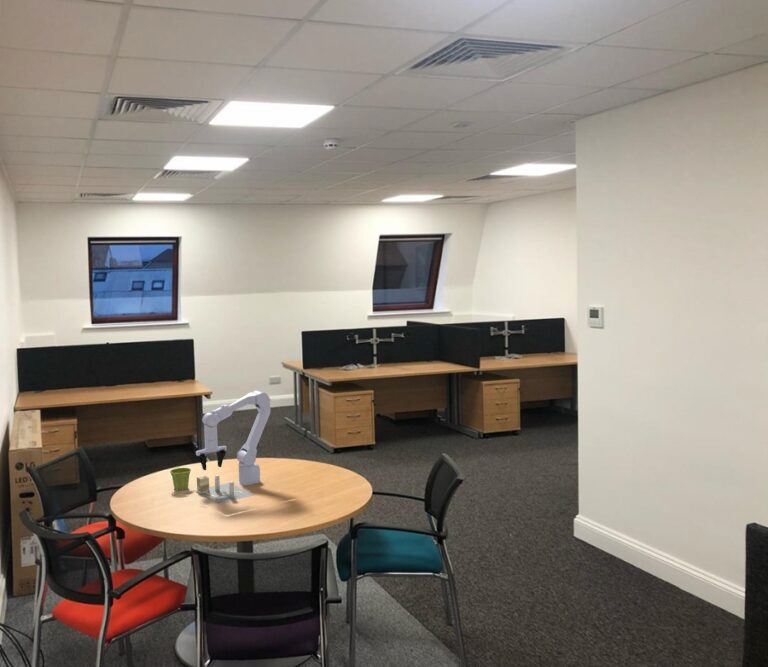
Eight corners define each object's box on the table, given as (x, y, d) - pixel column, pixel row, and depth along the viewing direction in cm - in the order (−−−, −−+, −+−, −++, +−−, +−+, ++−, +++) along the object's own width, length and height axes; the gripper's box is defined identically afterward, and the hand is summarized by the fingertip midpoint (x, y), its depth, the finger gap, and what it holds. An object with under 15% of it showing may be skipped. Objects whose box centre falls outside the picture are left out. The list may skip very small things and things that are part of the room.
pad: (205, 488, 334) (205, 487, 334) (211, 491, 330) (211, 490, 330) (193, 490, 330) (193, 489, 330) (199, 493, 326) (199, 492, 326)
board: (228, 484, 342) (228, 468, 342) (255, 496, 324) (255, 479, 323) (193, 491, 331) (192, 475, 330) (218, 504, 312) (218, 487, 311)
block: (209, 490, 329) (208, 477, 329) (201, 492, 327) (200, 479, 326) (205, 488, 332) (204, 475, 332) (197, 490, 330) (196, 477, 329)
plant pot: (175, 493, 329) (175, 474, 329) (167, 488, 337) (166, 470, 336) (195, 489, 335) (194, 470, 335) (186, 484, 343) (185, 466, 342)
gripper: (221, 435, 341) (222, 463, 342) (192, 440, 331) (193, 469, 332) (228, 437, 335) (229, 466, 336) (199, 442, 326) (200, 472, 327)
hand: (212, 468), depth 334 cm, fingers open, 7 cm apart
